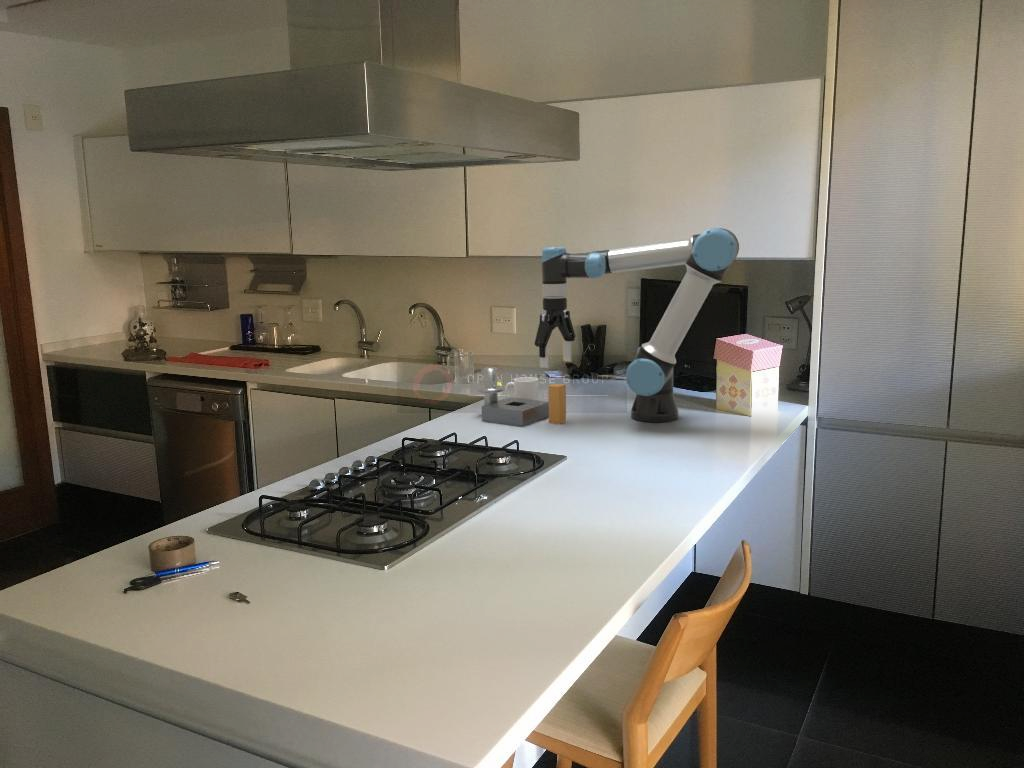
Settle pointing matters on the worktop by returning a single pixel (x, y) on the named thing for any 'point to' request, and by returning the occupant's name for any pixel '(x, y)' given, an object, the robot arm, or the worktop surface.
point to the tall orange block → (557, 403)
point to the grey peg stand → (509, 404)
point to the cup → (524, 388)
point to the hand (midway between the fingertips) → (556, 364)
